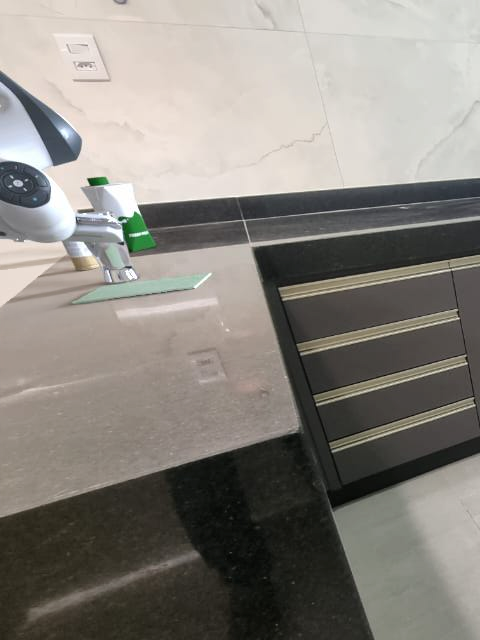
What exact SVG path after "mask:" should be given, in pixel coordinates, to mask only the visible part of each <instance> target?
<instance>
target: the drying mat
mask: <svg viewBox="0 0 480 640" xmlns="http://www.w3.org/2000/svg"><path fill="white" fill-rule="evenodd" d="M211 275H212V272H206V273H198V274H190V275H182V276H181V275H180V276H174V277H173V276H172V277H166V278H165V277H164V278H157V279H149V280H148V279H147V280H142V281H141V280H140V281H131V282H125V283H119V284H106V285H101V286H99V287H98V288H96V289H93V290H92V291H90V292H89V293H86V294H85V295H84V296H81V297H79V298H78V299H76V300H74V301H73V302H72V305H81V304H88V303H89V304H90V303H96V301H97V302H103V300H104V301H109V300H108V299H112V300H115V299H114V298H120V297H127V296H135V295H142V296H146V295H145V294H150V295H153V294H152V293H158V294H162V293H161V292H165V293H168V292H167V291H172V290H181V291H184V290H183V289H188V290H193V289H192V288H195V289H197V288H198V287H199V286H200V285H201V284H203V282H204V281H206V280H207V279H208V278H209V277H210V276H211ZM135 297H136V296H135ZM127 298H128V297H127ZM120 299H121V298H120Z"/></svg>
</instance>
